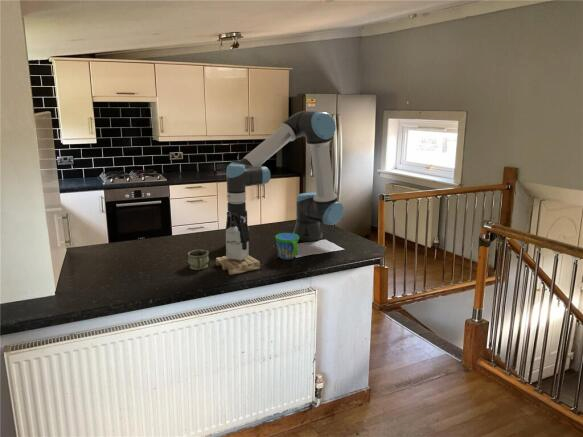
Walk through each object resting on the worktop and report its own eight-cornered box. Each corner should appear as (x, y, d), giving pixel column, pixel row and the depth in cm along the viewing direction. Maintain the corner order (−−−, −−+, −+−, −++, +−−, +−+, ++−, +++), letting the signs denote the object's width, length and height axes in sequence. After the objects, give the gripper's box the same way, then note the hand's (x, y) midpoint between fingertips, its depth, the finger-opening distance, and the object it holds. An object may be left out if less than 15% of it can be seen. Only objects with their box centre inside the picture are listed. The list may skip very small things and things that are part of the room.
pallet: (244, 258, 208) (244, 252, 207) (260, 268, 197) (260, 261, 196) (215, 264, 201) (215, 258, 200) (230, 274, 189) (230, 268, 189)
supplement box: (225, 258, 196) (224, 229, 192) (234, 252, 202) (233, 225, 199) (241, 260, 193) (240, 231, 190) (249, 255, 200) (248, 227, 196)
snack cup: (305, 261, 206) (305, 239, 203) (283, 264, 201) (283, 242, 199) (290, 250, 219) (290, 230, 217) (269, 253, 215) (269, 232, 212)
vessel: (211, 270, 195) (211, 256, 193) (190, 272, 192) (189, 258, 190) (206, 260, 205) (205, 247, 204) (186, 263, 202) (185, 249, 201)
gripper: (216, 197, 198) (218, 247, 204) (241, 208, 180) (242, 262, 186) (232, 195, 202) (233, 244, 208) (258, 206, 184) (258, 259, 190)
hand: (237, 252), depth 197 cm, fingers closed on supplement box, 10 cm apart
